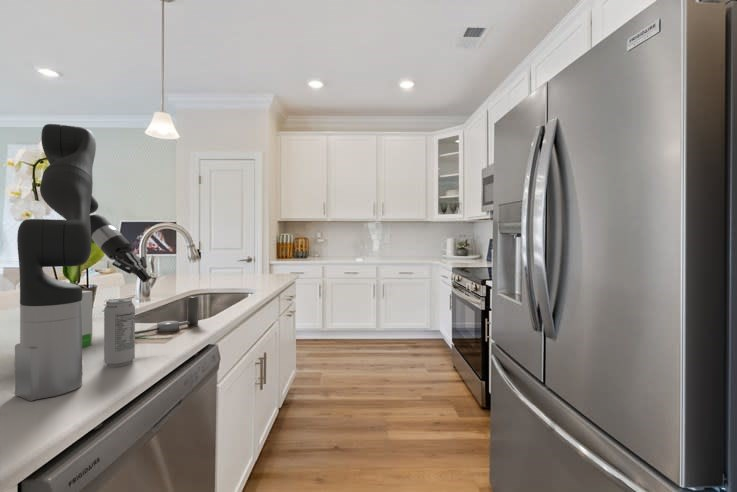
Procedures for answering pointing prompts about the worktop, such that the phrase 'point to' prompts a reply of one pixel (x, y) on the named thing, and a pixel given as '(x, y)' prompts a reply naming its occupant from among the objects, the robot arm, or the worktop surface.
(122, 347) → the energy drink can
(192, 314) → the tuning peg
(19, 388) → the robot arm
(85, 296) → the skincare box
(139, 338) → the tuner board
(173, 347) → the worktop surface
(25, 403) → the worktop surface
